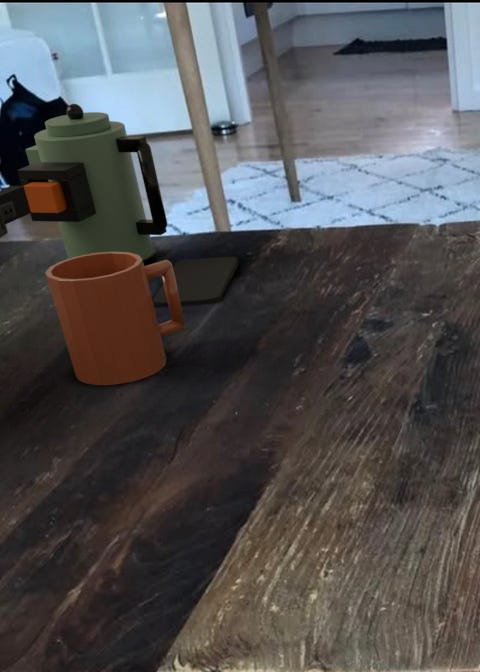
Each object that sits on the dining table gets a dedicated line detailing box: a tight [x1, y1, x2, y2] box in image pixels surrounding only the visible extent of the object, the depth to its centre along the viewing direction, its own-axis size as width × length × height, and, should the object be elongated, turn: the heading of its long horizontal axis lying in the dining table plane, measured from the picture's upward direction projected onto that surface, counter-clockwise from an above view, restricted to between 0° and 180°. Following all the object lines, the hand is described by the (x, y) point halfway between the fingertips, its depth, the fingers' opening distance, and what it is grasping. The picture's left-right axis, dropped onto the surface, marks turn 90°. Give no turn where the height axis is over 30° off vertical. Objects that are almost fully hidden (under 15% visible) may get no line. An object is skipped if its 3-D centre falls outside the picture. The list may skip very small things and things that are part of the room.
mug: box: [45, 252, 186, 386], centre depth 104 cm, size 12×8×10 cm
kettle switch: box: [24, 182, 68, 213], centre depth 123 cm, size 4×2×3 cm, turn 72°
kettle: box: [17, 103, 168, 266], centre depth 129 cm, size 16×14×18 cm
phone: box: [152, 256, 239, 307], centre depth 126 cm, size 7×1×15 cm
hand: (21, 199), depth 118 cm, fingers closed
